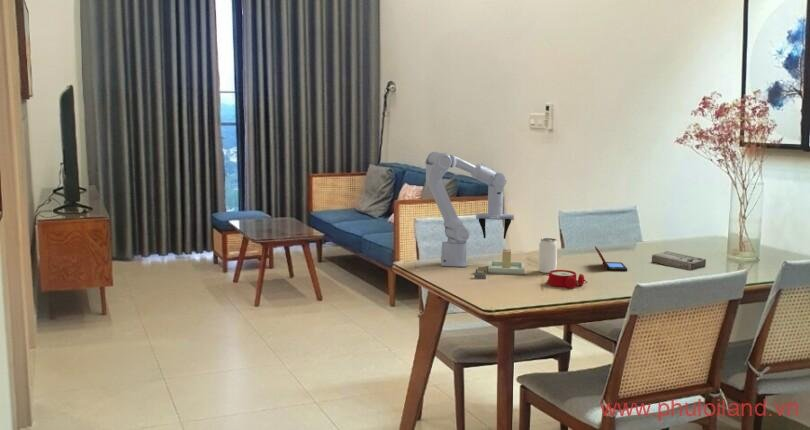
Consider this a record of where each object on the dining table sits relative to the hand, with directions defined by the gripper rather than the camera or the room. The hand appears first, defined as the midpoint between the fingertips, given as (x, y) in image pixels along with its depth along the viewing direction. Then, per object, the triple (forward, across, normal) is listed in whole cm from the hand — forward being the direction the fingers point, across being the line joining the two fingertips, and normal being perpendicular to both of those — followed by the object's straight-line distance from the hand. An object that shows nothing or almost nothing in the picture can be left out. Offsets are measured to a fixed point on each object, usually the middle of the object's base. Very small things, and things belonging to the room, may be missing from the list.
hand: (494, 238), depth 302 cm
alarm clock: (+10, +26, -34) cm, 43 cm away
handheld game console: (+10, +44, -3) cm, 45 cm away
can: (+10, +20, -14) cm, 26 cm away
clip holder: (+9, -4, -25) cm, 27 cm away
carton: (+9, +5, -15) cm, 18 cm away
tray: (+9, +5, -14) cm, 18 cm away
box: (+10, +71, +8) cm, 72 cm away
